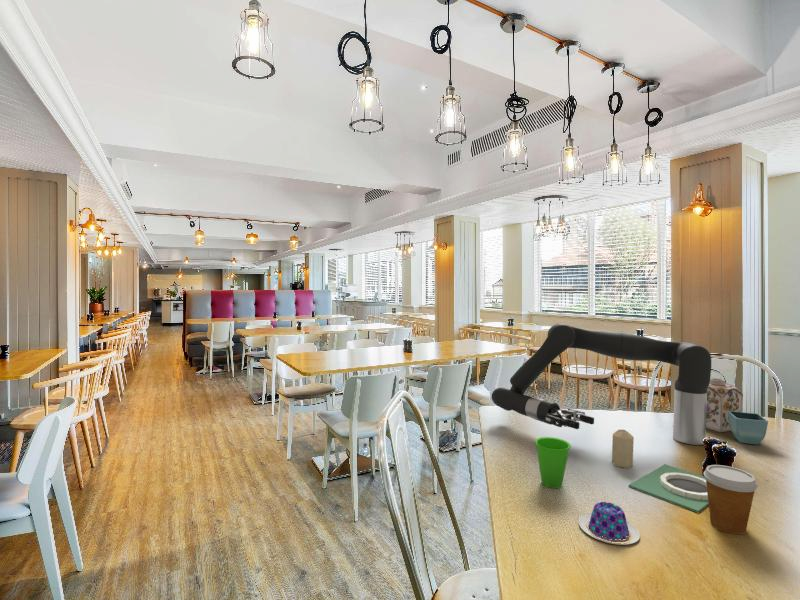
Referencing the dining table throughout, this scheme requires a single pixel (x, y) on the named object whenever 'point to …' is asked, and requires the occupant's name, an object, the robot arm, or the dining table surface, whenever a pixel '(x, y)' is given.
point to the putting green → (675, 487)
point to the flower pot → (748, 427)
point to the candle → (622, 449)
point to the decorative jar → (721, 404)
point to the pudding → (609, 523)
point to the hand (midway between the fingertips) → (586, 423)
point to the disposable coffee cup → (729, 497)
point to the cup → (552, 460)
